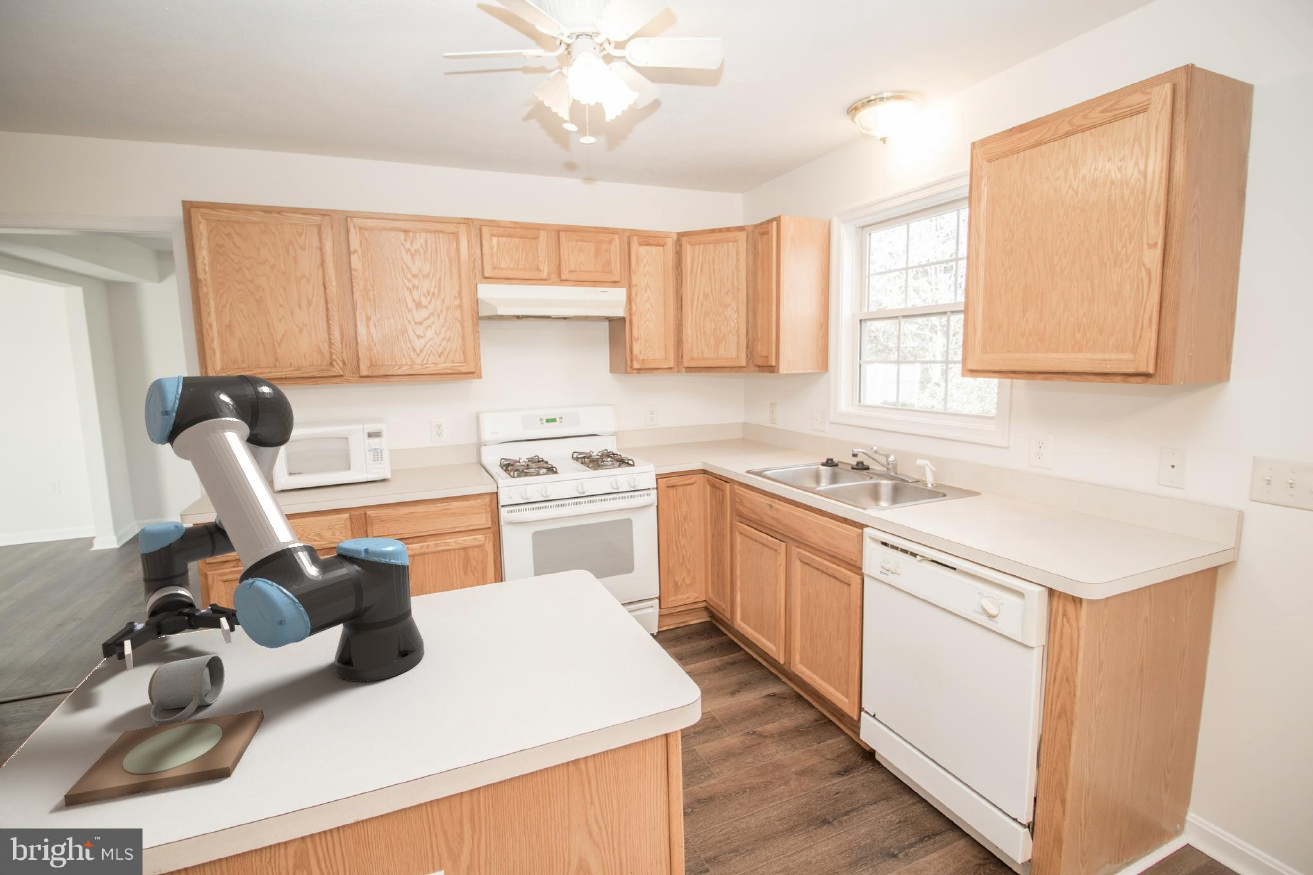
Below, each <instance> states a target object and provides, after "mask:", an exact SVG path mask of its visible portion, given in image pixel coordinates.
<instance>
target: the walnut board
mask: <svg viewBox="0 0 1313 875" xmlns="http://www.w3.org/2000/svg"><path fill="white" fill-rule="evenodd" d="M264 720H265V709H257V710H249V711H243V712H236V713H230V714H224V715H217V716H211V717H206V718H197V719H192V720H183V721H182V722H177V723H171V724H165V725H153V726H146V727H141V728H131V729H125V730H124V731H123V732H122V733H121V734H120V735H119V736H118V737H117V738H116V739H115V741H114V742H113V743H112V744H111V745H110V746H108V748H107V749H106V750H105V751H104V752H103V753H102V754H101V755H100V757H98V759H97V760H96V761H95V762H94V763H93V764H92V765H91V766H90V767H89V768H88V770H86V772H84V774H83V775H82V776H81V777H80V778H79V779H78V780H77V781H76V782H75V783H74V784H73V785H72V786H71V787H70V789H69V790H68V791H67V792H65V793H64V795H63V798H64V806H65V807H70V806H75V805H80V804H81V805H82V804H87V803H92V802H98V801H102V800H110V799H114V798H119V797H125V796H130V795H135V794H136V795H137V794H141V793H142V794H143V793H146V792H147V793H148V792H152V791H153V792H154V791H158V790H159V791H160V790H164V789H168V788H176V787H180V786H185V785H192V784H196V783H197V784H198V783H202V782H208V781H213V780H219V779H220V780H221V779H225V778H226V779H227V778H230V777H231V776H232V775H233V773H234V771H235V770H236V768H237V766H238V764H239V763H240V761H241V759H242V757H243V756H244V755H245V752H246V751H247V750H248V747H249V746H250V744H251V742H252V740H253V738H254V737H255V735H256V734H257V732H258V730H259V728H260V727H261V725H262V723H263V722H264Z"/></svg>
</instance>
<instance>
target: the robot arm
mask: <svg viewBox="0 0 1313 875" xmlns="http://www.w3.org/2000/svg"><path fill="white" fill-rule="evenodd" d="M144 422H145V428H146V433H147V436H148V438H149V439H150V441H151V442H152V443H153V444H155V445H161V446H165V445H166V444H169V446H171V447H170V448H172V449H171V450H172V451H173V453H174V454H175V456H177V457H178V458H180V459H182V460H185V461H189V462H191V465H192V466H193V468H194V470H195V472H196V475H197V477H198V478H199V481H200V483H201V485H202V486H203V489H204V491H205V493H206V494H207V497H208V499H209V501H210V502H211V504H212V507H213V508H214V510H215V513H216V516H215V519H214V521H213V522H212V523H211V522H210V523H206V524H202V525H201V524H200V525H196V526H192V527H191V526H190V527H187V528H185V526H184V524H183V523H182V522H181V521H172V520H171V521H166V522H165V521H163V522H157V523H152V524H147V525H146V526H144V527H142V528H140V530H139V531H138V553H139V559H140V565H141V566H140V567H141V572H142V583H143V595H144V596H143V597H144V599H143V600H144V603H145V605H146V615H147V620H146V621H145V622H144V623H143V622H142V623H139V624H138V622H136V621H134V620H133V621H132V620H131V621H129V622H127V623H126V624H125V626H124V628H122V629H120V630H119V631H118V632H116V633H115V634H114V635H111V637H109V638H108V639H107V640H105V641H104V642H103V643H102V644H101V648H102V650H101V651H102V656H103V659H108V658H109V659H110V658H111V657H113V656H115V655H116V660H117V661H123V660H125V665H126V670H127V671H128V670H131V669H133V668H134V666H133V665H134V664H133V651H134V650H136V649H138V648H139V647H140V646H143V645H144V644H146V643H148V642H149V641H151V640H155V641H156V640H157V639H160V638H161V637H163V636H171V635H177V634H180V633H182V632H184V631H186V630H192V631H193V630H198V629H200V628H201V629H219V630H220V631H221V635H222V637H223V639H224V642H225V644H230V643H232V636H231V633H233V632H235V631H236V626H241V629H242V630H243V631H244V632H245V634H246V635H247V637H249V638H250V640H252V641H253V642H254V643H256V644H257V645H258V646H260V647H265V648H269V649H278V648H281V647H285V646H287V645H290V644H295V643H300V642H302V641H304V640H306V639H307V638H309V637H311V636H314V635H317V634H320V633H322V632H324V631H327V630H330V629H332V628H334V627H337V626H339V625H342V630H341V634H340V638H339V641H338V645H337V648H336V652H335V655H334V671H335V673H336V674H335V675H336V676H337V677H338V678H341V679H342V680H345V681H350V682H360V683H361V682H362V683H364V682H374V681H379V680H385V679H388V678H391V677H394V676H395V677H396V676H397V675H400V674H403V673H404V672H407V671H408V670H410V669H412V668H414V667H415V666H417V665H418V664H419V663H420V662H421V661H422V660H423V658H424V656H425V645H424V644H425V643H424V638H423V637H422V635H421V632H420V630H419V628H418V626H417V624H416V622H415V620H414V616H413V613H412V612H413V611H412V598H411V586H410V585H411V582H410V567H409V566H410V561H409V554H408V549H407V546H406V545H405V543H404V542H402V541H400V540H397V539H395V538H388V537H361V538H360V537H359V538H352V539H347V540H342V541H341V542H339V543H337V545H336V547H335V548H336V549H334V551H335V553H336V554H335V555H331V556H327V557H325V558H321V557H320V556H319V554H318V552H317V550H316V548H315V547H314V546H313V545H312V544H309V543H305V542H300V541H299V539H298V537H297V535H296V533H295V531H294V529H293V527H292V525H291V524H290V521H289V520H288V518H287V516H286V514H285V513H284V510H283V509H282V507H281V505H280V503H279V501H278V499H277V497H276V496H275V494H274V492H273V490H272V488H271V487H270V485H269V483H270V480H271V477H272V474H273V471H274V469H275V465H276V462H277V460H278V457H279V455H280V454H279V453H280V450H281V448H282V447H284V446H285V445H287V443H288V442H289V441H290V438H291V436H292V433H293V430H294V424H295V423H294V422H295V420H294V411H293V409H292V404H291V402H290V401H289V399H288V397H287V396H286V395H285V393H284V392H283V391H282V390H281V388H280V387H278V386H277V385H275V383H273V382H271V381H269V380H268V379H265V378H263V377H260V376H257V375H251V374H238V375H237V374H236V375H200V376H199V375H197V376H196V375H195V376H194V375H191V376H183V375H177V376H172V377H171V376H170V377H160V378H157V379H155V380H154V381H153V382H152V383H151V384H150V385H149V387H148V390H147V393H146V396H145V402H144ZM233 553H236V555H237V557H238V558H239V561H240V562H241V564H242V566H243V568H242V571H241V572H240V574H239V575H238V579H237V580H238V583H239V584H238V585H237V586H236V588H235V589H234V591H233V595H232V596H233V597H232V600H233V602H232V603H233V608H234V609H233V608H229V607H224V606H220V605H218V604H217V603H211V604H208V607H207V608H206V609H202V610H201V609H200V608H197V606H196V602H195V601H194V598H193V595H192V590H191V584H190V574H189V570H190V569H189V564H191V563H194V562H199V561H204V560H208V559H212V558H216V557H221V556H224V555H228V554H233Z"/></svg>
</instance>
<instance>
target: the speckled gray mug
mask: <svg viewBox="0 0 1313 875" xmlns="http://www.w3.org/2000/svg"><path fill="white" fill-rule="evenodd" d="M225 677H226V676H225V666H224V662H223V659H222V658H221V657H220V655H218V654H213V653H212V654H207V655H202V656H198V657H197V656H196V657H191V658H187V659H186V658H184V659H180V660H174V661H170V662H168V663H164V664H162V665H160V666H159V667H157V668H156V669H155V670H154V671H153V673H152V675H151V677H150V679H149V682H148V689H147V692H148V693H147V694H148V695H147V696H148V699H149V702H150V704H151V705H152V706H151V710H150V712H149V713H150V714H149V715H150V718H151V721H152V722H153V724H155V726H158V725H165V724H171V723H177V722H184V721H186V719H188V718H189V717H191V715H192V714H193V713H194V712H195V710H196V709H197V708H198V707H199V706H208V705H212V704H214V703H215V702H217V701H218V699H219V698H220V697H221V694H222V692H223V688H224V685H225ZM180 708H185V709H183V710H182V711H181V712H179V713H177V714H176V715H174V716H171V717H170V718H167V719H166V718H158V714H159V711H160V710H171V709H172V710H173V709H180Z"/></svg>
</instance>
